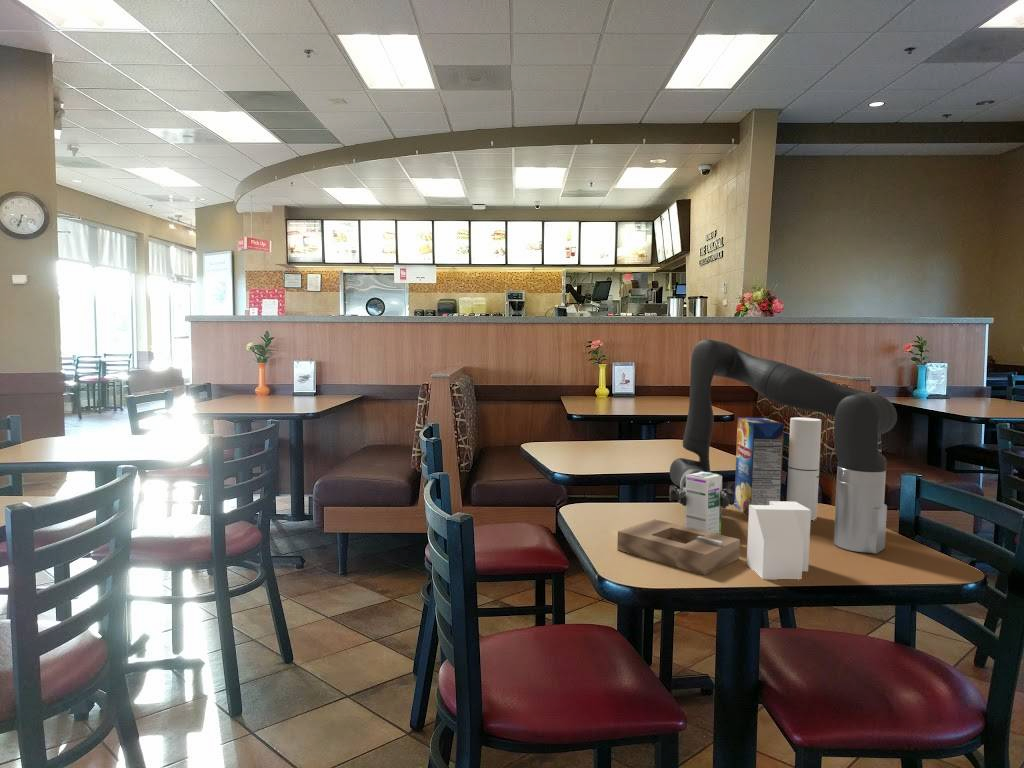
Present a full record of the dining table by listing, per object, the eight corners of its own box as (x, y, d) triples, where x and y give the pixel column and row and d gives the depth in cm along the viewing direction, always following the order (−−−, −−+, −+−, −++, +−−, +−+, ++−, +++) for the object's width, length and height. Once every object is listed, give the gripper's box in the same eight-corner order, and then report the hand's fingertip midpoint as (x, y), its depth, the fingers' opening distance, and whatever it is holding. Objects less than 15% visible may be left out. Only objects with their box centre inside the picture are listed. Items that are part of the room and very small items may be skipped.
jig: (739, 558, 132) (740, 535, 132) (705, 575, 122) (705, 550, 122) (654, 536, 146) (654, 515, 146) (617, 550, 136) (617, 527, 136)
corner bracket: (793, 559, 132) (795, 501, 131) (819, 580, 121) (822, 516, 120) (740, 559, 132) (743, 500, 131) (762, 579, 121) (764, 515, 120)
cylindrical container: (779, 514, 167) (784, 418, 165) (799, 512, 170) (804, 417, 168) (802, 521, 161) (807, 421, 159) (823, 519, 164) (828, 420, 162)
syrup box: (706, 543, 141) (708, 478, 140) (683, 537, 146) (685, 473, 145) (721, 539, 145) (723, 474, 144) (698, 532, 149) (700, 470, 148)
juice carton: (734, 505, 176) (737, 417, 174) (761, 506, 175) (765, 417, 174) (749, 517, 164) (753, 423, 162) (779, 518, 164) (783, 423, 162)
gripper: (667, 469, 160) (671, 484, 144) (727, 472, 157) (739, 487, 142) (666, 499, 160) (670, 517, 144) (726, 503, 158) (737, 521, 142)
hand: (704, 502), depth 143 cm, fingers closed on syrup box, 8 cm apart
